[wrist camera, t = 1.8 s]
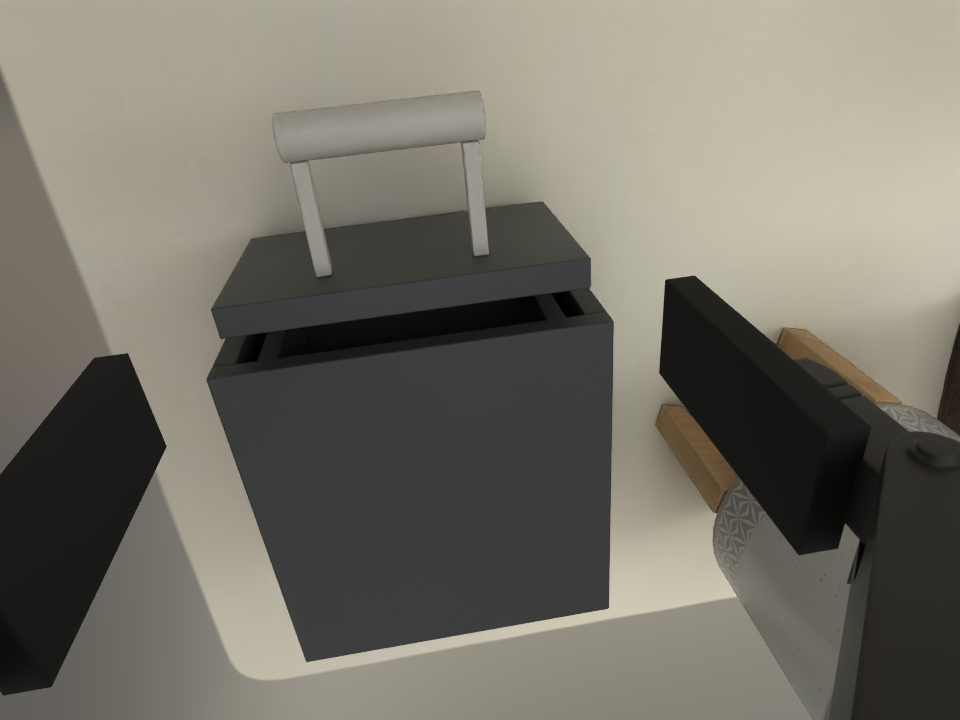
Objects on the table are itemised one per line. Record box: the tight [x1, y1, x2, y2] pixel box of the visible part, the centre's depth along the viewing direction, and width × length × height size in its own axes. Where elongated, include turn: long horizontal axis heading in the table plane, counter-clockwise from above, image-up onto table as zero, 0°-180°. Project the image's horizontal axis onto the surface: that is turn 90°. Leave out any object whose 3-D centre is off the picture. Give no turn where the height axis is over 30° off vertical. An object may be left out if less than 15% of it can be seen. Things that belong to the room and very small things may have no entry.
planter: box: [656, 328, 960, 720], centre depth 32 cm, size 13×13×18 cm
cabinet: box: [207, 288, 614, 662], centre depth 31 cm, size 16×15×10 cm
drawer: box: [211, 91, 591, 361], centre depth 28 cm, size 20×14×8 cm, turn 5°
